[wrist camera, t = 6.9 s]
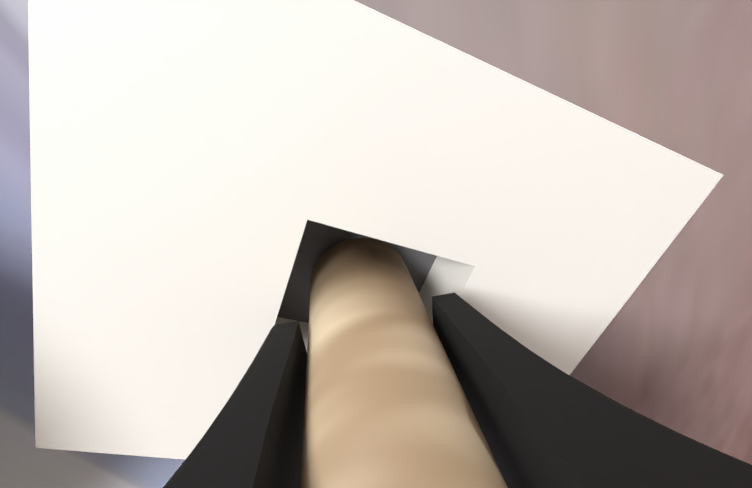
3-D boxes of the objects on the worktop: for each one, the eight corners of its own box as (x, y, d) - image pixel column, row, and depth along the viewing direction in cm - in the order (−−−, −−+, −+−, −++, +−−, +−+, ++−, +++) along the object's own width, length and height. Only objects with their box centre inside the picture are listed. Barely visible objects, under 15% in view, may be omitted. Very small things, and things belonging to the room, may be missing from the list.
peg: (402, 229, 11) (552, 503, 4) (411, 312, 13) (534, 626, 5) (301, 247, 11) (262, 572, 4) (321, 329, 12) (322, 682, 5)
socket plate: (648, 154, 12) (723, 175, 10) (464, 429, 17) (486, 482, 15) (110, -91, 8) (25, -155, 5) (84, 381, 13) (35, 447, 11)
